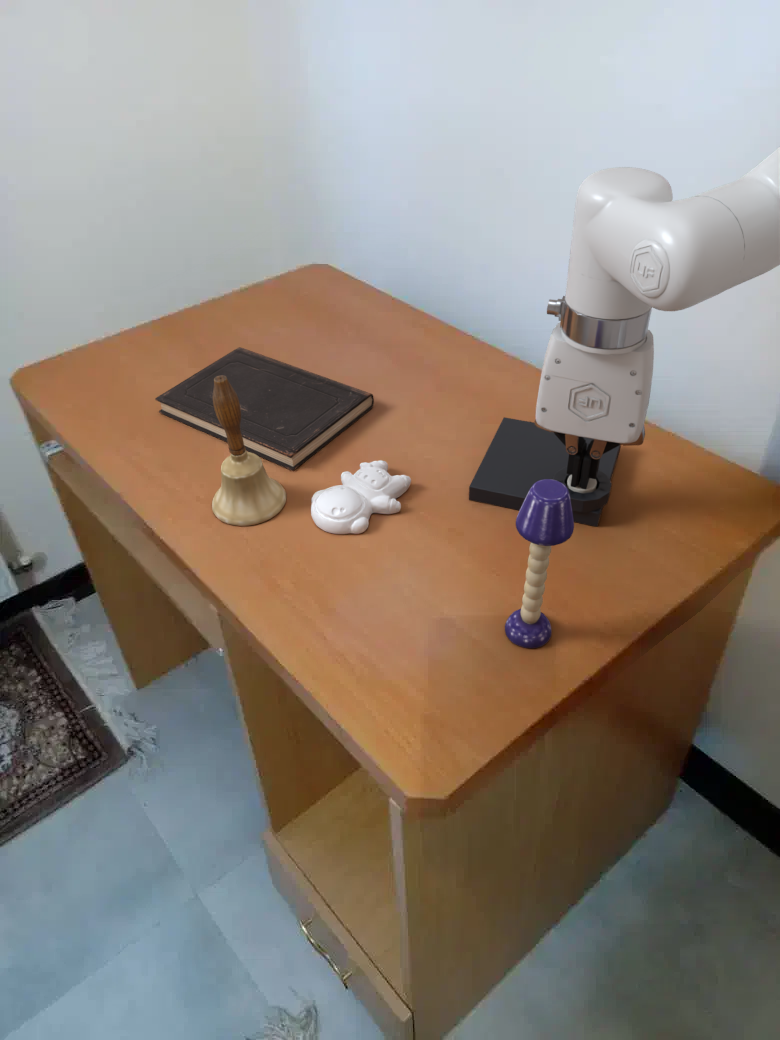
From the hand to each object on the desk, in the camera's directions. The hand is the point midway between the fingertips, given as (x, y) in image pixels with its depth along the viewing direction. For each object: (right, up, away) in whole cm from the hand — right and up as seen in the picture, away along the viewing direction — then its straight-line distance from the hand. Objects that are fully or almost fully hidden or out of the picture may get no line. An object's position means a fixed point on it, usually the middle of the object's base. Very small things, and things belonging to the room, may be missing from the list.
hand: (581, 479), depth 83 cm
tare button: (0, -1, +1) cm, 2 cm away
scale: (-2, +1, +7) cm, 7 cm away
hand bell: (-36, -2, +6) cm, 36 cm away
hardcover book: (-36, +10, +19) cm, 42 cm away
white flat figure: (-23, -2, +5) cm, 24 cm away
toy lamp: (-7, -15, -10) cm, 19 cm away
